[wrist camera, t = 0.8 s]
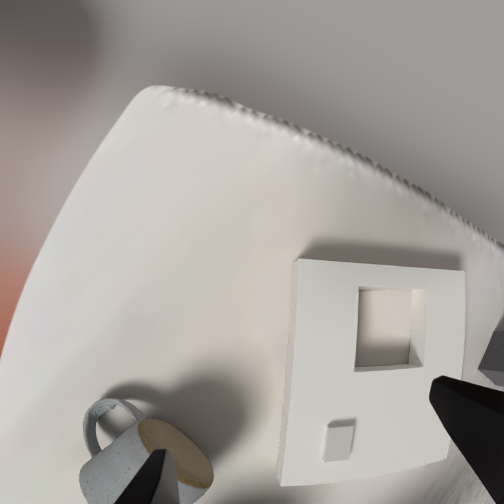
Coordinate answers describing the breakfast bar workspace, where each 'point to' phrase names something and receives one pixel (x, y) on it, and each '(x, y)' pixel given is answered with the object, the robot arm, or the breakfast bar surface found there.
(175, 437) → the ceramic mug
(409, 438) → the socket plate
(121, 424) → the breakfast bar surface
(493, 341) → the plug
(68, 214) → the breakfast bar surface
